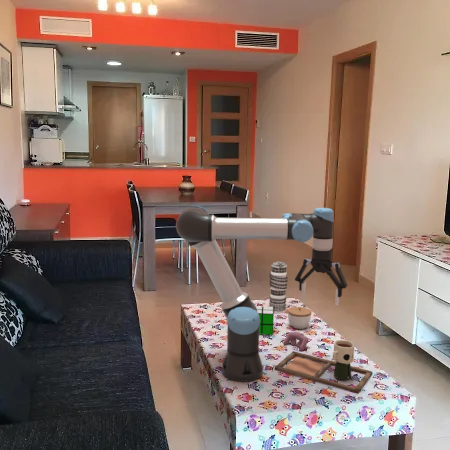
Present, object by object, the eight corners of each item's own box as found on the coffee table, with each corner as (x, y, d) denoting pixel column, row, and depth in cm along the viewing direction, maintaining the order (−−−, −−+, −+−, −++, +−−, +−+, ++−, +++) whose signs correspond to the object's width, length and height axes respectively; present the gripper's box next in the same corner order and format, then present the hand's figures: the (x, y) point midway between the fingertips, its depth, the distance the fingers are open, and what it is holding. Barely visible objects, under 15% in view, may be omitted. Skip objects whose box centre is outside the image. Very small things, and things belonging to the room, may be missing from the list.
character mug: (339, 385, 174) (341, 350, 172) (324, 377, 180) (326, 343, 178) (359, 377, 180) (362, 343, 178) (345, 369, 186) (346, 337, 184)
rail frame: (358, 393, 169) (358, 390, 169) (274, 369, 185) (274, 367, 185) (372, 374, 183) (372, 371, 183) (293, 353, 200) (293, 351, 199)
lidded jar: (308, 322, 234) (309, 303, 232) (312, 330, 224) (313, 311, 222) (285, 322, 234) (286, 303, 232) (289, 330, 223) (290, 311, 222)
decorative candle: (266, 307, 254) (268, 260, 249) (284, 307, 255) (285, 260, 250) (270, 313, 245) (271, 265, 240) (288, 313, 246) (290, 264, 241)
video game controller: (306, 352, 204) (311, 336, 205) (301, 351, 201) (306, 334, 202) (287, 345, 211) (291, 330, 212) (281, 344, 207) (286, 328, 209)
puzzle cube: (273, 327, 228) (273, 306, 226) (273, 335, 218) (273, 314, 216) (251, 326, 229) (252, 305, 227) (250, 334, 219) (250, 313, 217)
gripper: (357, 250, 185) (354, 304, 189) (295, 243, 197) (293, 294, 201) (352, 254, 179) (349, 310, 182) (288, 246, 191) (286, 299, 194)
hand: (319, 301), depth 192 cm, fingers open, 13 cm apart
